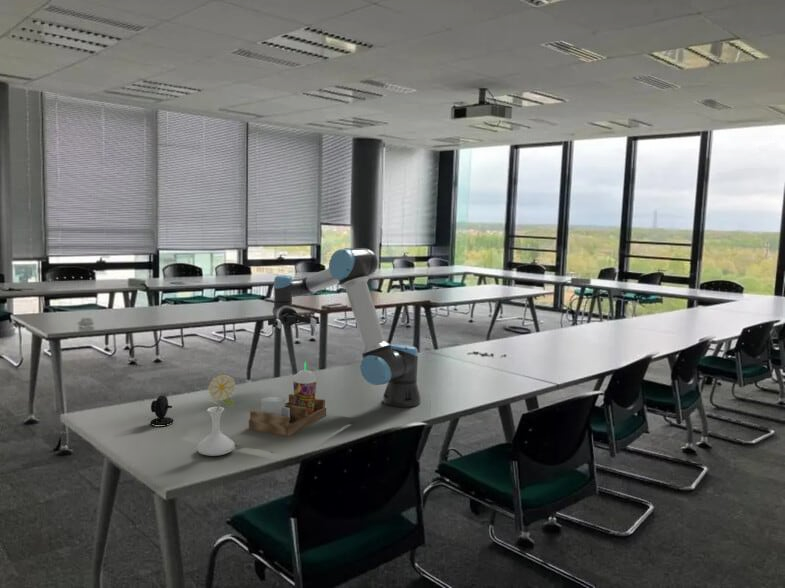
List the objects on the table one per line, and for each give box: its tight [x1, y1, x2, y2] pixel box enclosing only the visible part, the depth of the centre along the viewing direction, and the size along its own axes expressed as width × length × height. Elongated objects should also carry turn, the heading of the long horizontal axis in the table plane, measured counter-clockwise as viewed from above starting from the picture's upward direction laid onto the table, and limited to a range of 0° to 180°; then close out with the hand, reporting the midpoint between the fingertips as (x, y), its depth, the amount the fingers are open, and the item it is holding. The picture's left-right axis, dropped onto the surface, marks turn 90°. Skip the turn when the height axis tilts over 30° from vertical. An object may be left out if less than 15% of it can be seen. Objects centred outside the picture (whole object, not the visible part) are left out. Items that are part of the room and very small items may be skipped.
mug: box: [261, 396, 290, 421], centre depth 213 cm, size 10×8×9 cm
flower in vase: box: [196, 374, 237, 457], centre depth 191 cm, size 13×11×25 cm
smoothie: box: [292, 361, 318, 415], centre depth 223 cm, size 8×8×20 cm
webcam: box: [150, 395, 174, 425], centre depth 217 cm, size 8×8×10 cm
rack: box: [248, 393, 327, 437], centre depth 218 cm, size 16×24×8 cm, turn 155°
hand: (297, 324), depth 239 cm, fingers open, 13 cm apart
